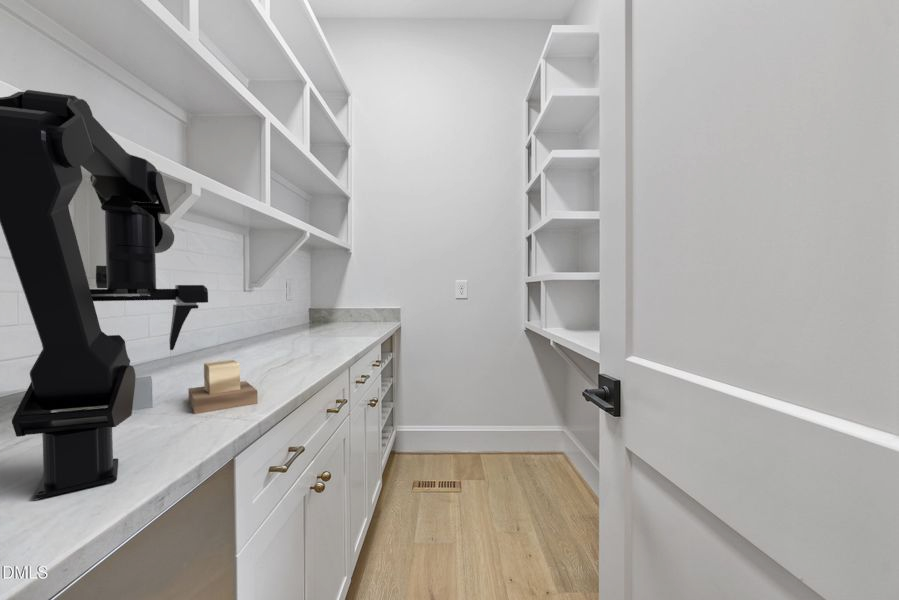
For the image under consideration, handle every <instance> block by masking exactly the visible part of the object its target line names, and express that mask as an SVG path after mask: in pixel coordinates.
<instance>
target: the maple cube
mask: <svg viewBox="0 0 899 600" xmlns="http://www.w3.org/2000/svg"><path fill="white" fill-rule="evenodd" d="M240 365H241V363H239V362H238V361H237V360H235V359H228V360H221V361H220V360H219V361H210V362H204V363H203V379H204V382H203V384H204V385H203V387H204V389H205V390H206V391H207V392H208V393H209V394H216V393H222V392H229V391H235V390H240V382H241V367H240Z"/></svg>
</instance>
